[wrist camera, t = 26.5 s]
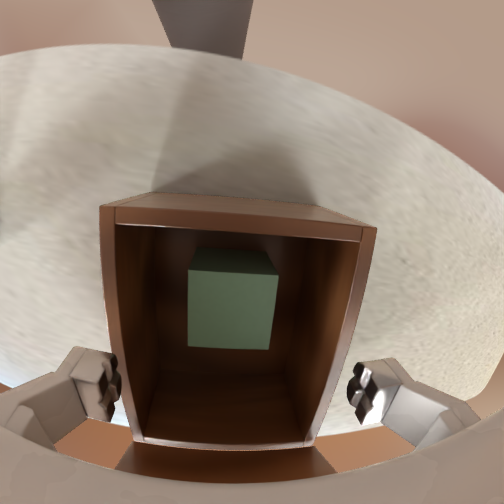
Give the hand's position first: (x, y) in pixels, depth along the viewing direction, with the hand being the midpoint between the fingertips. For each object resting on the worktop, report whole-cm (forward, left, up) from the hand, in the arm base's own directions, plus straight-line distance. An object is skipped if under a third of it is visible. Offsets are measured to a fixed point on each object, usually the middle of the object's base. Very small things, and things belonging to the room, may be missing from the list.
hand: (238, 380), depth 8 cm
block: (+1, 0, -12) cm, 12 cm away
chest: (+3, 0, -13) cm, 14 cm away
